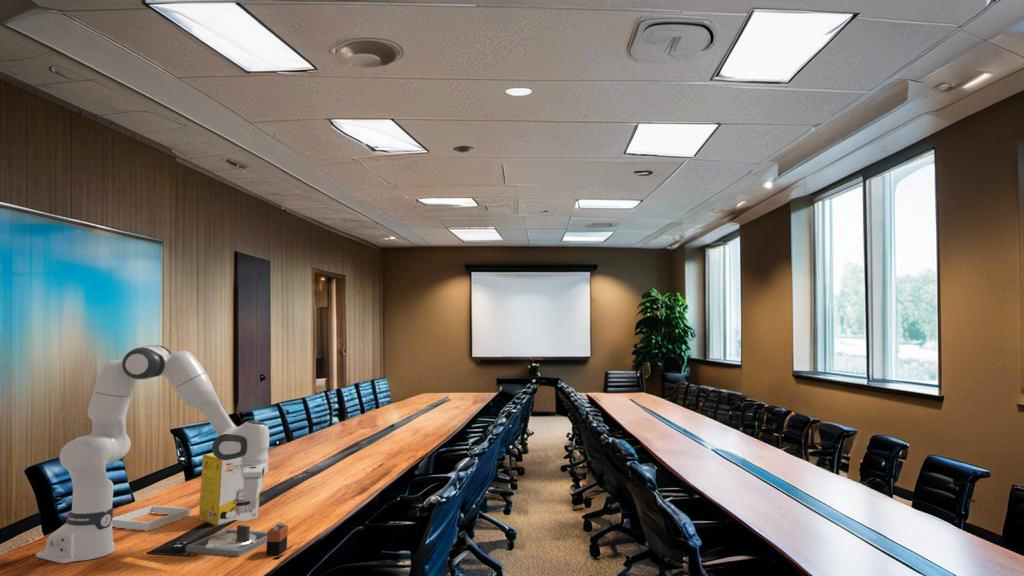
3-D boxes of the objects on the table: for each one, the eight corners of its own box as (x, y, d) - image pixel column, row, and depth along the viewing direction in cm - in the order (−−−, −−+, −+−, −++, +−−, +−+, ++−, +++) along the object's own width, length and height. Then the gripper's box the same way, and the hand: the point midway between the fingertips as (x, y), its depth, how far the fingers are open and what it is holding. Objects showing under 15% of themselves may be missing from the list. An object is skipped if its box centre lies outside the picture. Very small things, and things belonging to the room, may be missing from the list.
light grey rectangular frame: (107, 527, 228) (108, 519, 228) (151, 512, 248) (152, 505, 248) (147, 531, 224) (148, 522, 224) (189, 516, 244) (189, 508, 245)
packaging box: (238, 510, 253) (242, 449, 256) (258, 518, 243) (261, 454, 246) (198, 518, 241) (202, 454, 243) (217, 526, 231) (221, 459, 233)
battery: (287, 553, 203) (288, 522, 204) (278, 560, 196) (280, 528, 197) (274, 552, 203) (275, 521, 204) (265, 559, 196) (266, 527, 197)
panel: (185, 555, 199) (186, 542, 199) (226, 537, 218) (226, 525, 219) (238, 560, 195) (239, 548, 195) (275, 541, 214) (276, 530, 215)
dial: (197, 547, 203) (198, 527, 203) (233, 535, 216) (234, 516, 217) (230, 554, 197) (232, 533, 198) (265, 541, 211) (266, 521, 211)
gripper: (249, 462, 221) (247, 501, 220) (240, 473, 202) (239, 516, 200) (267, 461, 223) (266, 500, 222) (261, 472, 204) (259, 515, 202)
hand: (253, 508), depth 211 cm, fingers closed
